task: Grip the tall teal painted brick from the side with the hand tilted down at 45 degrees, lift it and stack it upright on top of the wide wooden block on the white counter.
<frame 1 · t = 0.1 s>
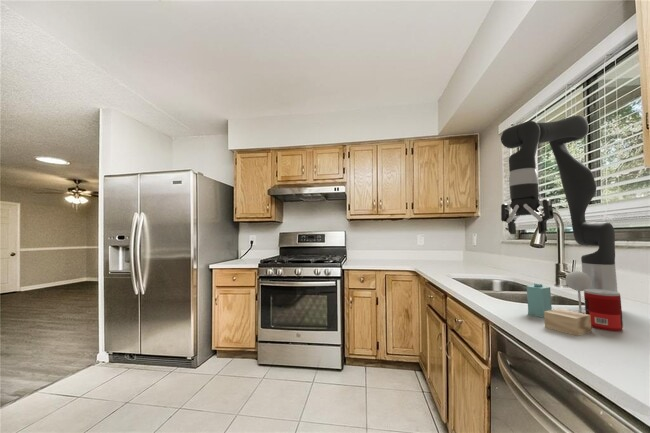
hand: (526, 233, 87), 29 cm above the countertop, tool pointing down, fingers open, 8 cm apart
wooden block: (567, 329, 82), on the countertop
teal brick: (540, 314, 97), on the countertop
canned food: (604, 327, 84), on the countertop
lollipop: (580, 313, 99), on the countertop
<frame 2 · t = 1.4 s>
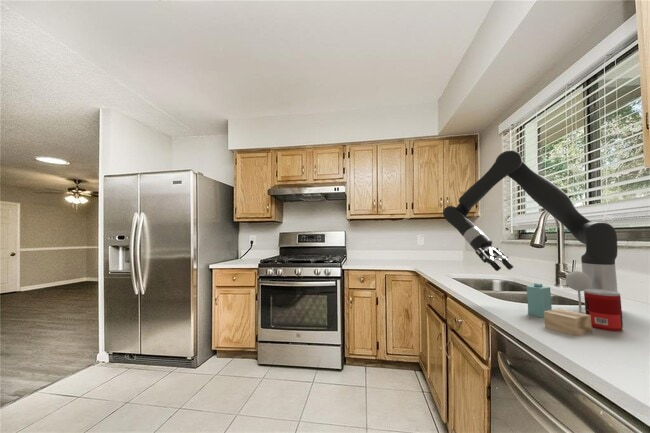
hand: (505, 269, 108), 15 cm above the countertop, tool tilted 45°, fingers open, 8 cm apart
nothing on the countertop moved.
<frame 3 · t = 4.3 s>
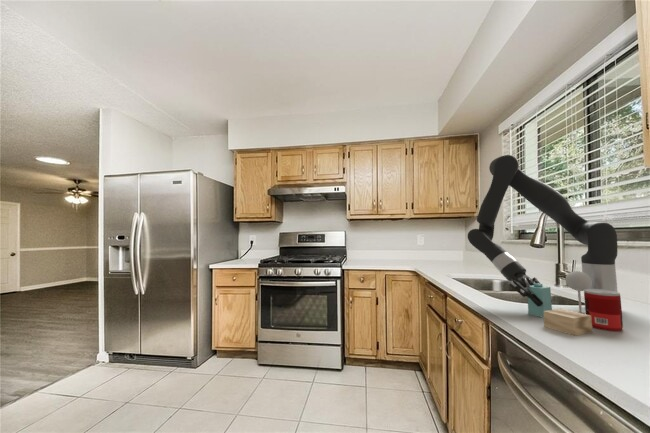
hand: (545, 304, 95), 4 cm above the countertop, tool tilted 45°, fingers closed on teal brick, 5 cm apart
teal brick: (540, 314, 97), on the countertop, touching gripper
everything else where it was.
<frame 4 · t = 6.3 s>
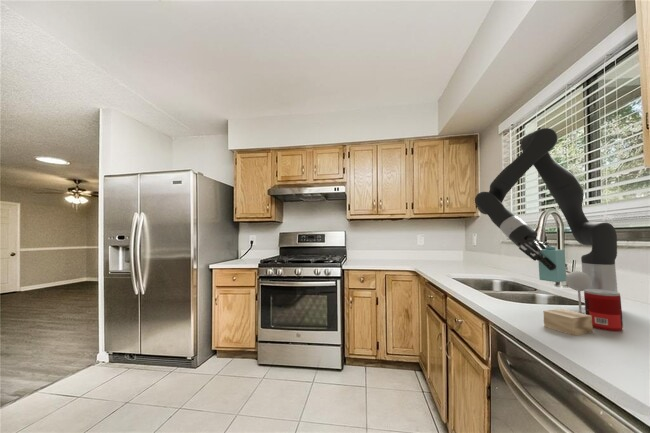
hand: (558, 268, 86), 18 cm above the countertop, tool tilted 45°, fingers closed on teal brick, 5 cm apart
teal brick: (552, 280, 88), point 14 cm above the countertop, touching gripper
everything else where it was.
when the fingers open (10 cm above the countertop, at t = 8.5 s): teal brick drops 1 cm, resting on wooden block.
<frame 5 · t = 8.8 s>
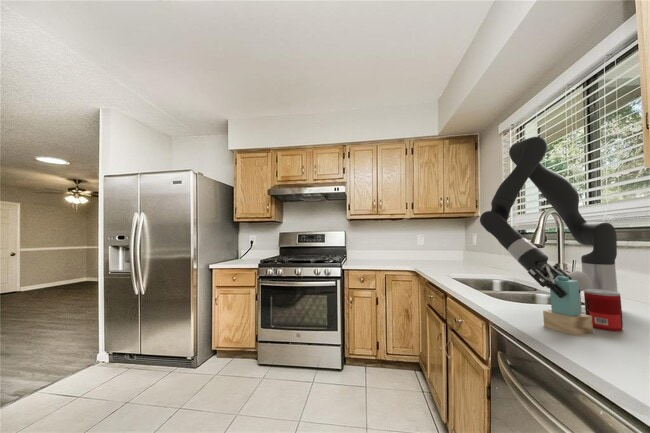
hand: (571, 295, 82), 11 cm above the countertop, tool tilted 45°, fingers open, 7 cm apart
wooden block: (567, 330, 82), on the countertop, touching teal brick
teal brick: (565, 313, 83), point 5 cm above the countertop, touching wooden block
everything else where it was.
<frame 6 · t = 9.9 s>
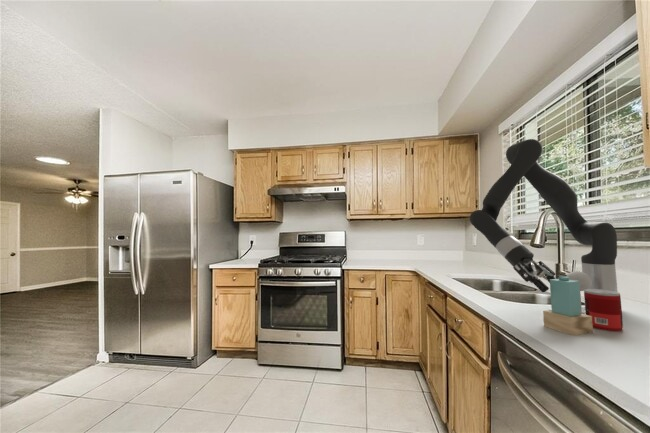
hand: (553, 289, 86), 11 cm above the countertop, tool tilted 45°, fingers open, 8 cm apart
wooden block: (567, 330, 82), on the countertop
teal brick: (566, 313, 83), point 5 cm above the countertop
everything else where it was.
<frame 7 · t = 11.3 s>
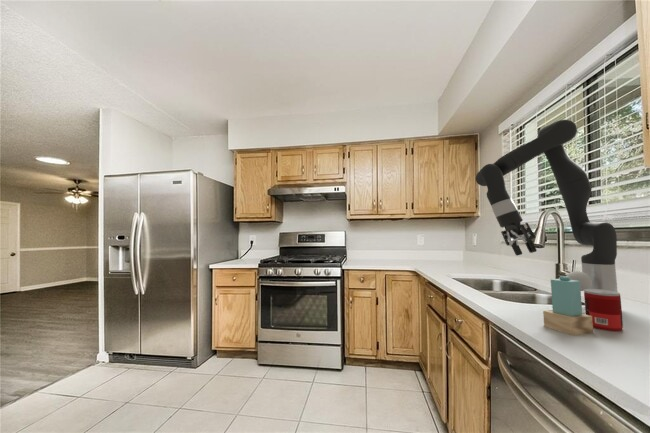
hand: (526, 253, 99), 22 cm above the countertop, tool tilted 20°, fingers open, 8 cm apart
wooden block: (567, 330, 82), on the countertop, touching teal brick
teal brick: (567, 313, 83), point 5 cm above the countertop, touching wooden block
everything else where it was.
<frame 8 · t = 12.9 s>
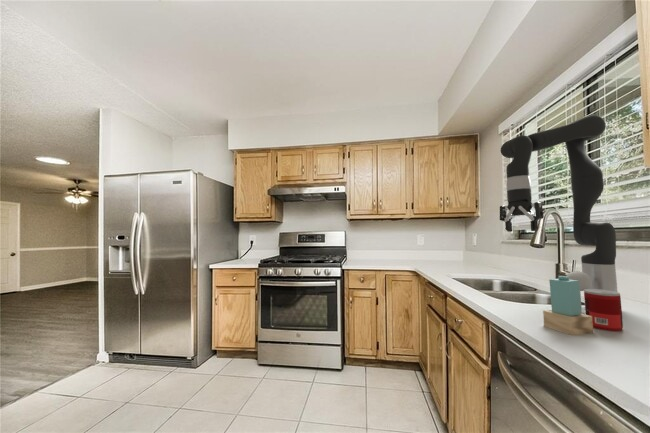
hand: (521, 231, 102), 30 cm above the countertop, tool pointing down, fingers open, 8 cm apart
wooden block: (567, 330, 82), on the countertop
teal brick: (566, 313, 83), point 5 cm above the countertop
everything else where it was.
at the end: teal brick 0.2 cm off-centre on the wooden block, point 5.1 cm above the wooden block's base; teal brick tilted 1°; the gripper is holding nothing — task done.
